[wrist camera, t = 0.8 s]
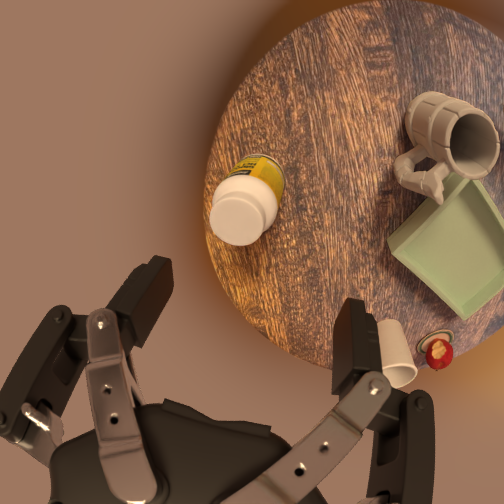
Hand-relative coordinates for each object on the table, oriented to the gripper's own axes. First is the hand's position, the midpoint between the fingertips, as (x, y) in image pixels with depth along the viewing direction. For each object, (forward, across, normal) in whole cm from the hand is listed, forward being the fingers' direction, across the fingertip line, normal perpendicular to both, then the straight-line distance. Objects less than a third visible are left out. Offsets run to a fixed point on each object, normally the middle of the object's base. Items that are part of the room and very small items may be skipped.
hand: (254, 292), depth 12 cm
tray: (+22, -27, +6) cm, 35 cm away
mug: (+22, -14, -7) cm, 27 cm away
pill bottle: (+22, +3, +3) cm, 22 cm away
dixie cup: (+22, -22, +25) cm, 40 cm away
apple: (+22, -35, +26) cm, 49 cm away
